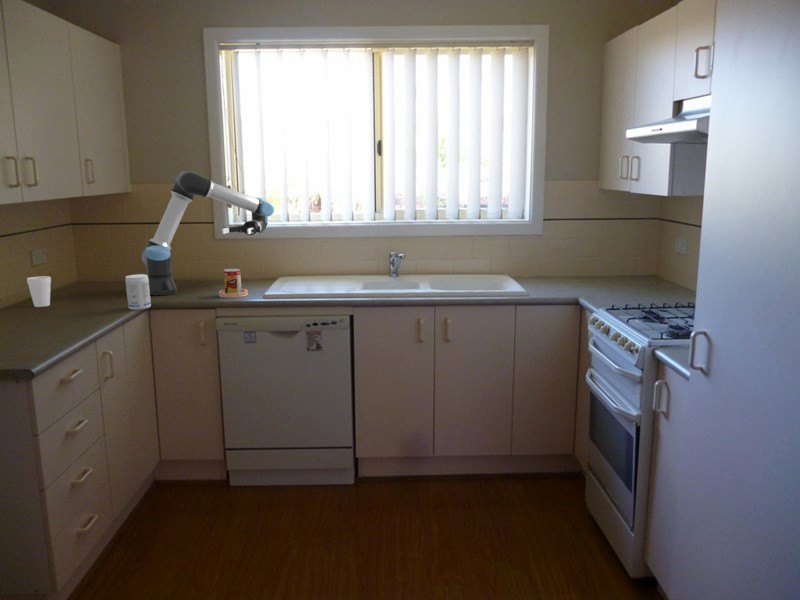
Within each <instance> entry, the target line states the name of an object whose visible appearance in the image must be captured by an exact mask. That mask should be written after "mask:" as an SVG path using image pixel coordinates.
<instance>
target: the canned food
mask: <svg viewBox="0 0 800 600" xmlns="http://www.w3.org/2000/svg"><path fill="white" fill-rule="evenodd" d="M241 276H242V275H241V269H240V268H227V269H224V270H223V279H224V280H223V281H224V284H223V285H224V290H225V293H241V292H242V291H241V289H242V279H241Z"/></svg>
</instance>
